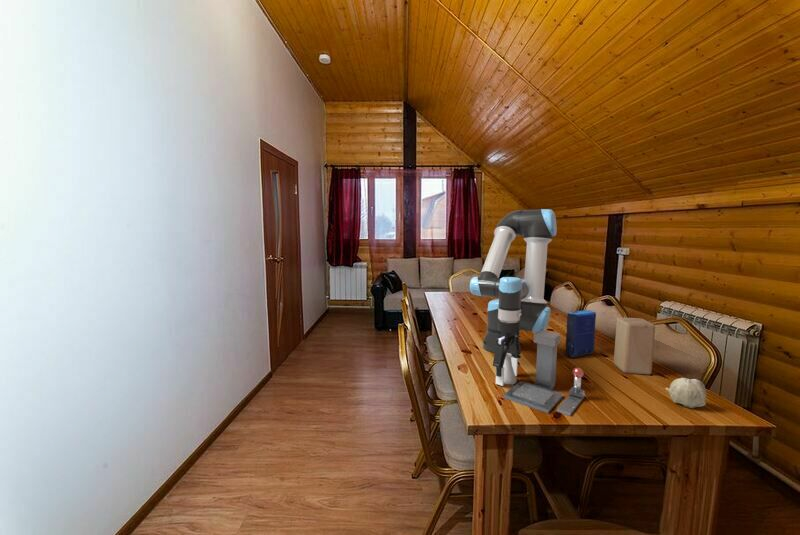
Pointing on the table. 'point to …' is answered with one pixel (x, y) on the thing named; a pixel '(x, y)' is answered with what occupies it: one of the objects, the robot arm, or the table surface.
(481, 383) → the table surface
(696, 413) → the table surface
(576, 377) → the lever
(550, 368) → the base
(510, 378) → the flask
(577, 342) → the book
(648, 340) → the wooden block
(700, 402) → the garlic bulb
